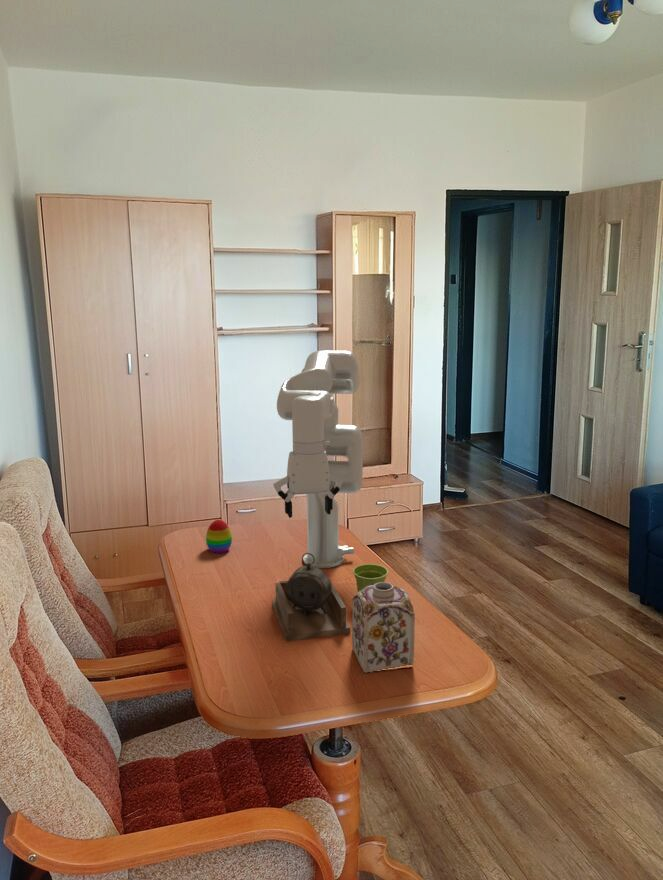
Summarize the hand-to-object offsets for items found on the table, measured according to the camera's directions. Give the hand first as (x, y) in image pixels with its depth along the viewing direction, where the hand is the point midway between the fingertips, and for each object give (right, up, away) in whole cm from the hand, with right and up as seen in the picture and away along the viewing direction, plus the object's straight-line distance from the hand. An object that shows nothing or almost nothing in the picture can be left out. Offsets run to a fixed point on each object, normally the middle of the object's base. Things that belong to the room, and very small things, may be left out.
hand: (308, 514), depth 178 cm
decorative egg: (-30, -17, +52) cm, 63 cm away
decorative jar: (+17, -32, -13) cm, 38 cm away
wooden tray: (0, -27, +6) cm, 28 cm away
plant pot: (+16, -25, +16) cm, 34 cm away
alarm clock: (0, -26, +6) cm, 27 cm away
